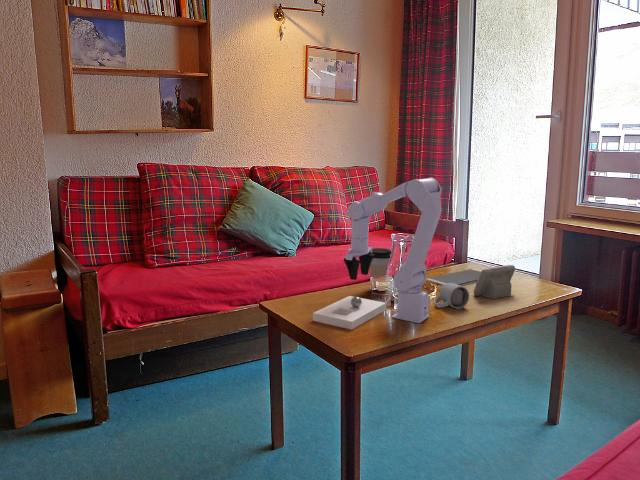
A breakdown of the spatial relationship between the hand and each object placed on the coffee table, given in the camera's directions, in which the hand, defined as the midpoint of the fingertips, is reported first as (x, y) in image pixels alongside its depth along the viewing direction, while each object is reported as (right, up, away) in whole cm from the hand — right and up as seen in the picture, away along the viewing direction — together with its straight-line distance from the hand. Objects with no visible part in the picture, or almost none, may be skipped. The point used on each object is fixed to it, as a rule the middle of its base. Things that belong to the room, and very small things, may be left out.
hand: (358, 276), depth 183 cm
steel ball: (-2, -7, -11) cm, 13 cm away
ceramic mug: (+31, -10, 0) cm, 32 cm away
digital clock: (+50, -8, +13) cm, 52 cm away
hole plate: (-3, -12, -10) cm, 16 cm away
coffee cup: (+9, -6, +18) cm, 21 cm away
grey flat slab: (+43, -4, +34) cm, 55 cm away
